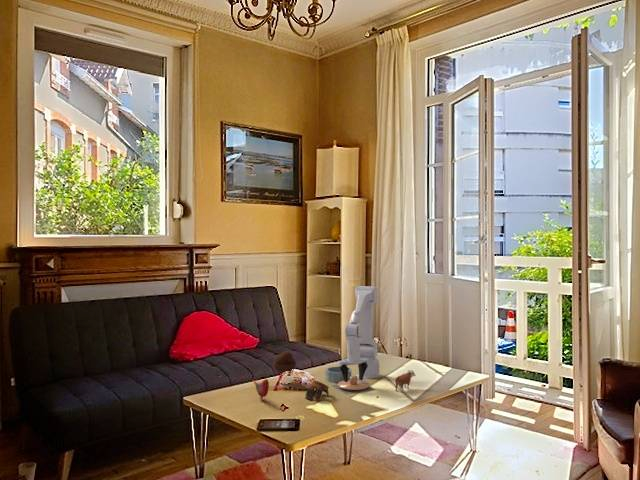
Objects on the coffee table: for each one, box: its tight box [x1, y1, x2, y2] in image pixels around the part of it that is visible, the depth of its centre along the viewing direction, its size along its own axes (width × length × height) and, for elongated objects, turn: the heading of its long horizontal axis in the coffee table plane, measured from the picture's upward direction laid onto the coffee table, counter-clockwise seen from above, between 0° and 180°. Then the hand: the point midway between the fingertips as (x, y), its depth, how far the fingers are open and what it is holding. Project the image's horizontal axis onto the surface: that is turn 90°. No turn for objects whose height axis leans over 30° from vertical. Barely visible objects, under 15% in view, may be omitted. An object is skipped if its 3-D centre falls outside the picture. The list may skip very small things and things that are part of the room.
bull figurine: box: [394, 369, 416, 392], centre depth 246 cm, size 4×13×8 cm, turn 137°
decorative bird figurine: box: [252, 378, 270, 402], centre depth 232 cm, size 3×18×10 cm, turn 27°
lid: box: [337, 375, 370, 390], centre depth 248 cm, size 14×14×5 cm
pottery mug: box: [304, 380, 330, 401], centre depth 234 cm, size 12×10×8 cm
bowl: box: [325, 365, 353, 384], centre depth 262 cm, size 12×12×5 cm
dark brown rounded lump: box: [272, 350, 297, 375], centre depth 257 cm, size 11×11×15 cm
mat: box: [331, 383, 376, 395], centre depth 248 cm, size 15×15×1 cm
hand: (353, 380), depth 248 cm, fingers open, 7 cm apart
